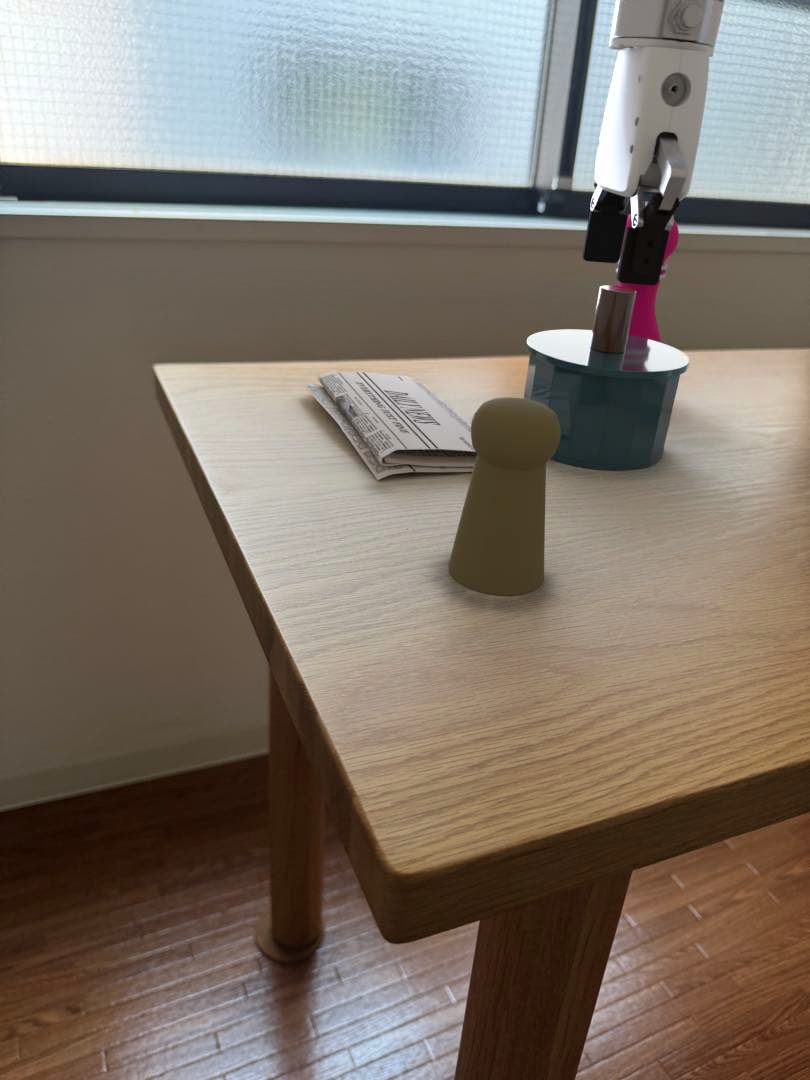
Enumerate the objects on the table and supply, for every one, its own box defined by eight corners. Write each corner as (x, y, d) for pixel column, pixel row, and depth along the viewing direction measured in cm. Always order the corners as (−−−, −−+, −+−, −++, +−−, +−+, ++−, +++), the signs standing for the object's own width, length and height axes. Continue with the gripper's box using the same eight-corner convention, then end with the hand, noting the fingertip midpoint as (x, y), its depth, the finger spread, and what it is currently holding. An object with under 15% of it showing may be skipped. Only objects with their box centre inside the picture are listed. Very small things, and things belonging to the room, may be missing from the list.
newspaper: (298, 391, 84) (301, 366, 83) (414, 400, 88) (418, 376, 87) (360, 479, 64) (365, 448, 63) (504, 485, 69) (511, 456, 68)
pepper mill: (593, 376, 97) (627, 187, 87) (657, 389, 94) (699, 195, 85) (576, 391, 91) (611, 190, 82) (643, 405, 88) (687, 198, 79)
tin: (634, 423, 83) (651, 341, 79) (683, 473, 71) (705, 380, 68) (507, 417, 81) (518, 333, 78) (537, 467, 70) (551, 372, 66)
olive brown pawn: (492, 540, 57) (513, 382, 52) (563, 576, 54) (593, 409, 49) (428, 565, 54) (444, 396, 49) (499, 606, 50) (525, 428, 45)
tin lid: (653, 346, 80) (667, 278, 77) (713, 390, 68) (732, 311, 65) (510, 338, 78) (519, 269, 76) (545, 382, 66) (557, 301, 63)
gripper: (767, 26, 55) (702, 297, 62) (670, 42, 70) (627, 257, 78) (656, 14, 54) (603, 290, 62) (582, 32, 69) (548, 251, 77)
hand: (617, 271), depth 70 cm, fingers open, 9 cm apart
